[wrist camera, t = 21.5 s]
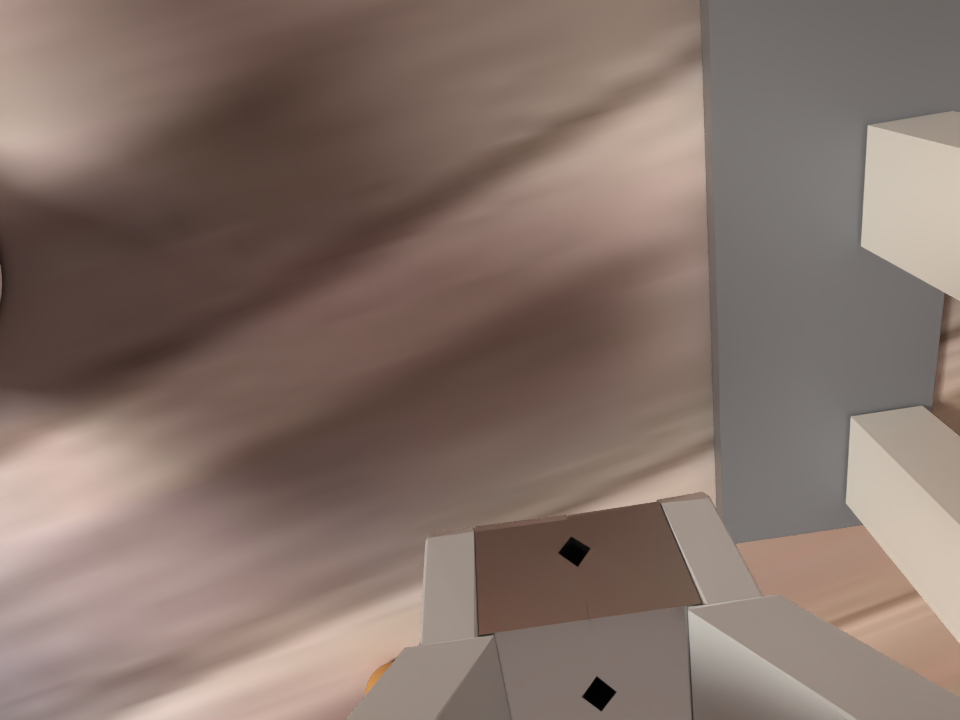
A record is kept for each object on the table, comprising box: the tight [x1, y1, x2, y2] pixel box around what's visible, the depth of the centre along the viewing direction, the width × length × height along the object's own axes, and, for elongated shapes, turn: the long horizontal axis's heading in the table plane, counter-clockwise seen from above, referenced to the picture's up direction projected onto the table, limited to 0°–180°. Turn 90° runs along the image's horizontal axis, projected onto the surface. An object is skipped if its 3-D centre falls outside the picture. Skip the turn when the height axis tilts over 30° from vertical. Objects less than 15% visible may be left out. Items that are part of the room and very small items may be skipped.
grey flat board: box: [700, 0, 960, 544], centre depth 37 cm, size 12×42×1 cm, turn 9°
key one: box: [846, 406, 960, 643], centre depth 38 cm, size 4×6×12 cm
